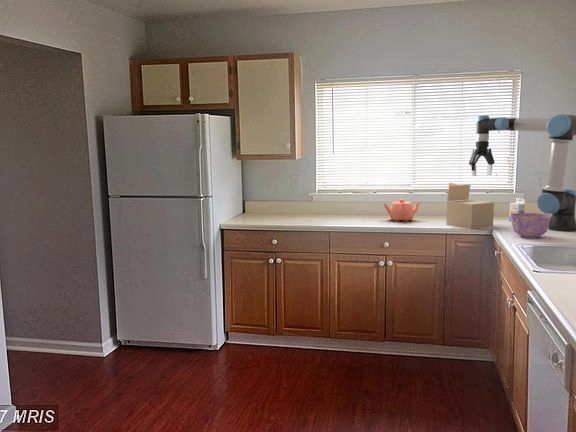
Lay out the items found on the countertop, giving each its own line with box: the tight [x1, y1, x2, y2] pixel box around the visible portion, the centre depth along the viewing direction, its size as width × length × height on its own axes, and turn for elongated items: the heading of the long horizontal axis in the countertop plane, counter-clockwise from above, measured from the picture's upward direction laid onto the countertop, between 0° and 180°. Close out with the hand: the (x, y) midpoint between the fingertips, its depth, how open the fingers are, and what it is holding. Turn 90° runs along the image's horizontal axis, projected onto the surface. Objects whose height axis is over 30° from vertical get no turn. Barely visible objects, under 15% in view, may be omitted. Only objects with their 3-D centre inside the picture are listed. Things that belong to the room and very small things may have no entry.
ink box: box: [508, 197, 526, 222], centre depth 342 cm, size 8×5×15 cm, turn 17°
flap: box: [446, 182, 471, 202], centre depth 338 cm, size 10×18×8 cm
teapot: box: [383, 198, 422, 223], centre depth 351 cm, size 18×18×14 cm
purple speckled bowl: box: [510, 212, 552, 239], centre depth 288 cm, size 20×20×12 cm
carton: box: [445, 199, 495, 230], centre depth 328 cm, size 20×18×14 cm
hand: (481, 175), depth 335 cm, fingers open, 13 cm apart
